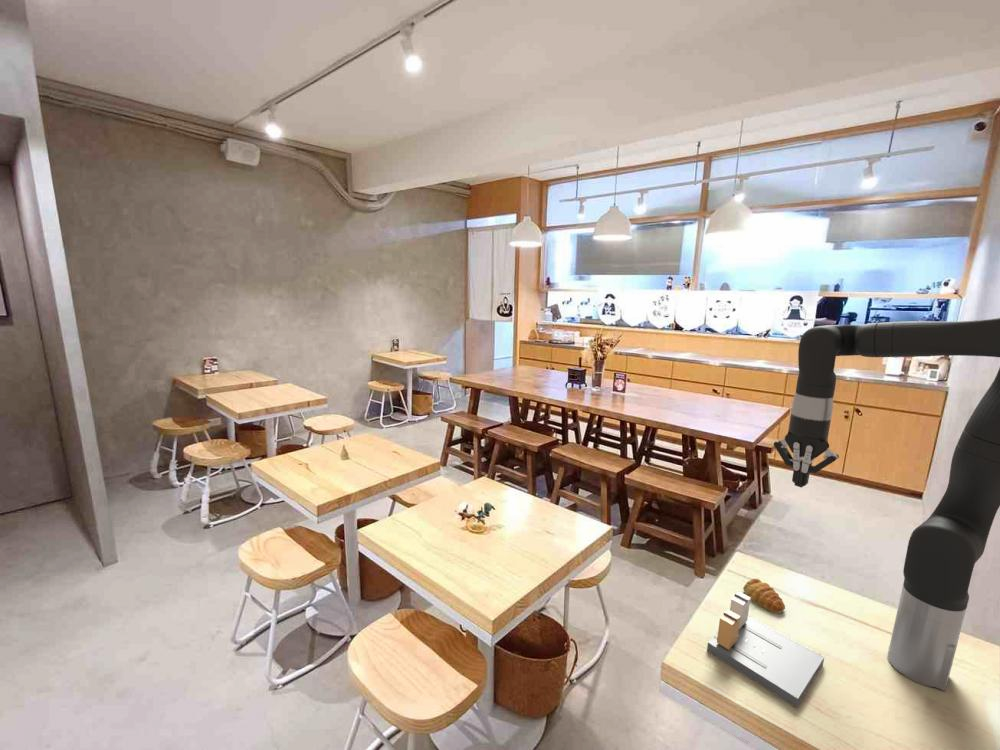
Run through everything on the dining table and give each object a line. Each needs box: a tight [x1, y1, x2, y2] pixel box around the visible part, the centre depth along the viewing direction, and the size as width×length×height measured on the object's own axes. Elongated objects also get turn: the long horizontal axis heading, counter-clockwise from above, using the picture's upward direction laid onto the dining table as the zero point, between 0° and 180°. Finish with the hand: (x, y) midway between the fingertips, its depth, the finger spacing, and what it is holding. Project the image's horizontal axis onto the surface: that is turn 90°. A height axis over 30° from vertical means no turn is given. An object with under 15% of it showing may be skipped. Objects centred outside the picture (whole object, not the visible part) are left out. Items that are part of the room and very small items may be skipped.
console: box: [706, 615, 825, 709], centre depth 95 cm, size 17×16×2 cm
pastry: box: [742, 578, 786, 614], centre depth 112 cm, size 9×7×4 cm
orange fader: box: [717, 609, 741, 650], centre depth 95 cm, size 3×4×6 cm, turn 129°
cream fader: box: [729, 591, 751, 629], centre depth 101 cm, size 3×4×6 cm, turn 129°
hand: (799, 485), depth 104 cm, fingers closed
